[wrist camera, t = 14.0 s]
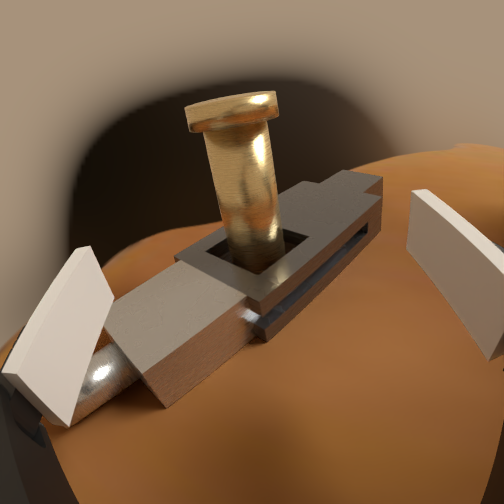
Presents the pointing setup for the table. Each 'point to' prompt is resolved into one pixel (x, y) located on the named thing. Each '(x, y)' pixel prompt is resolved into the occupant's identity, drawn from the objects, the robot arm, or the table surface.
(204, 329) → the clevis
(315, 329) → the table surface
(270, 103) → the clevis pin
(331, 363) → the table surface
